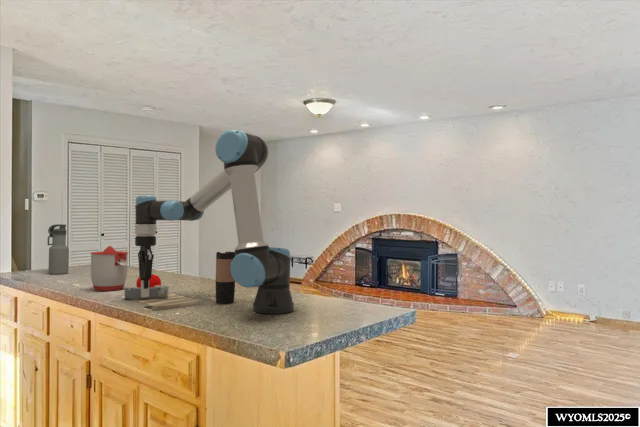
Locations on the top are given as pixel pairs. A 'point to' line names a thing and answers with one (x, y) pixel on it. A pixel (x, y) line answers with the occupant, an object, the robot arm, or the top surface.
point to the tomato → (150, 281)
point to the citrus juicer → (108, 269)
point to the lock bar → (154, 293)
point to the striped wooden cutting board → (168, 302)
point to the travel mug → (224, 278)
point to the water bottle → (58, 250)
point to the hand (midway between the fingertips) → (145, 296)
